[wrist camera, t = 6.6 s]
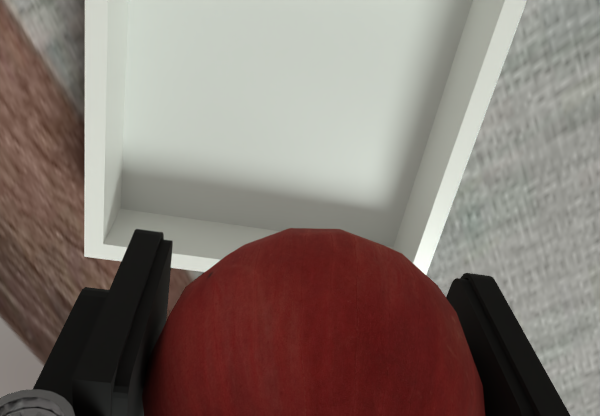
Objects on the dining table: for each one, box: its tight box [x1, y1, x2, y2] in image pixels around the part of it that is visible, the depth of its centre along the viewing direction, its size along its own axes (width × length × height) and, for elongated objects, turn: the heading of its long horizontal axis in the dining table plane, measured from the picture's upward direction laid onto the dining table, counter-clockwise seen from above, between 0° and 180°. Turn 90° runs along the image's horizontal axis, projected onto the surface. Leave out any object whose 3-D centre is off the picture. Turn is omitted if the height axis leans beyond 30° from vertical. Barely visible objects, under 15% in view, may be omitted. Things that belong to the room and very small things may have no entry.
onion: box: [142, 228, 485, 416], centre depth 10 cm, size 6×6×8 cm
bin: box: [84, 0, 527, 275], centre depth 24 cm, size 16×16×4 cm
